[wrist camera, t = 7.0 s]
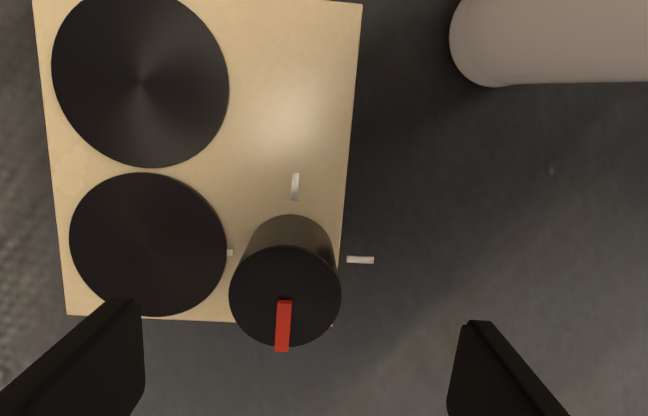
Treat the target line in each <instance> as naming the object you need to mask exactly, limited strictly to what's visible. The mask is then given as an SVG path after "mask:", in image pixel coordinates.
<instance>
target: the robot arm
mask: <svg viewBox="0 0 648 416" xmlns="http://www.w3.org/2000/svg"><path fill="white" fill-rule="evenodd" d="M144 389H145V367H144V350H143V333H142V316H141V306H140V304H136V303H135V300H134V299H133V298H123V297H110V298H108V299H107V300H106V301H105V302H104V303H102V304H101V305H100V306H99V307H98V308H97V309H96V310H94V311H93V312H92V313H91V314H90V315H89V316H87V317H86V318H85V319H84V320H83V321H82V322H80V323H79V324H78V325H77V326H76V327H75V328H73V329H72V330H71V331H70V332H69V333H68V334H67V335H65V336H64V337H63V338H62V339H61V340H60V341H58V342H57V343H56V344H55V345H54V346H53V347H51V348H50V349H49V350H48V351H47V352H46V353H44V354H43V355H42V356H41V357H40V358H39V359H37V360H36V361H35V362H34V363H33V364H32V365H31V366H29V367H28V368H27V369H26V370H25V371H24V372H22V373H21V374H20V375H19V376H18V377H17V378H15V379H14V380H13V381H12V382H11V383H10V384H8V385H7V386H6V387H5V388H4V389H3V390H2V391H0V416H130V414H131V413H132V411H133V409H134V408H135V406H136V405H137V403H138V402H139V400H140V398H141V397H142V395H143V392H144ZM446 406H447V412H448V415H449V416H570V415H569V414H568V412H567V411H566V410H565V409H564V408H563V407H562V405H561V404H560V403H559V402H558V401H557V399H556V398H555V397H554V396H553V395H552V393H551V392H550V391H549V390H548V389H547V387H546V386H545V385H544V384H543V383H542V381H541V380H540V379H539V378H538V377H537V376H536V374H535V373H534V372H533V371H532V370H531V368H530V367H529V366H528V365H527V364H526V362H525V361H524V360H523V359H522V358H521V356H520V355H519V354H518V353H517V352H516V350H515V349H514V348H513V347H512V346H511V345H510V343H509V342H508V341H507V340H506V339H505V337H504V336H503V335H502V334H501V333H500V331H499V330H498V329H497V328H496V327H495V325H494V324H493V323H492V322H491V321H481V320H469V321H468V323H467V325H465V324H464V325H462V327H461V330H460V335H459V340H458V345H457V350H456V355H455V360H454V365H453V370H452V375H451V380H450V385H449V389H448V394H447V400H446Z"/></svg>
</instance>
